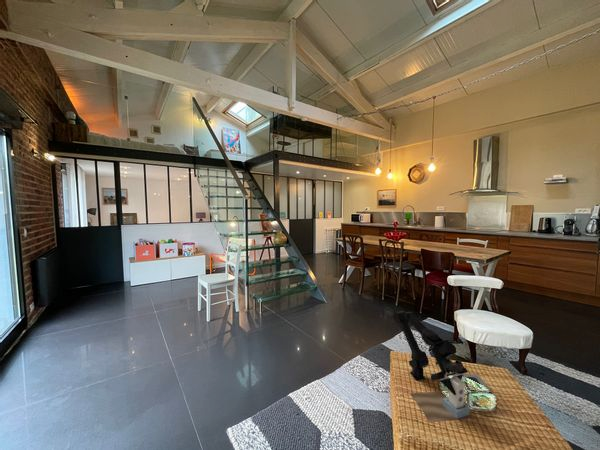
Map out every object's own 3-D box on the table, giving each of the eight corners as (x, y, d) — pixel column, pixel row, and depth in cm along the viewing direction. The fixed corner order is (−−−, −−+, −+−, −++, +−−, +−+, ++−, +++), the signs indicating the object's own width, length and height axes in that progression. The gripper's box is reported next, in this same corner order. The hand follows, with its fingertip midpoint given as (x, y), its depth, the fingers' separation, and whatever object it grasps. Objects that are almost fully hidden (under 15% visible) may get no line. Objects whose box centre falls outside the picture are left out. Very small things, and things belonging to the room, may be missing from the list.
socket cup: (442, 405, 120) (442, 398, 120) (454, 401, 122) (455, 395, 122) (456, 418, 113) (457, 411, 112) (469, 414, 115) (470, 407, 114)
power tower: (448, 401, 119) (449, 378, 118) (455, 399, 120) (456, 376, 119) (456, 409, 114) (458, 385, 113) (463, 407, 116) (465, 383, 114)
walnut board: (409, 394, 128) (409, 393, 128) (447, 391, 130) (447, 390, 130) (430, 423, 111) (430, 422, 111) (473, 419, 113) (473, 418, 113)
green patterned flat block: (491, 396, 127) (491, 391, 127) (469, 393, 129) (469, 389, 129) (478, 378, 140) (478, 374, 140) (458, 376, 142) (458, 372, 142)
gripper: (436, 358, 116) (455, 396, 107) (465, 351, 121) (486, 387, 112) (423, 363, 125) (439, 398, 115) (451, 356, 130) (469, 390, 120)
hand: (459, 394), depth 115 cm, fingers closed on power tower, 4 cm apart
